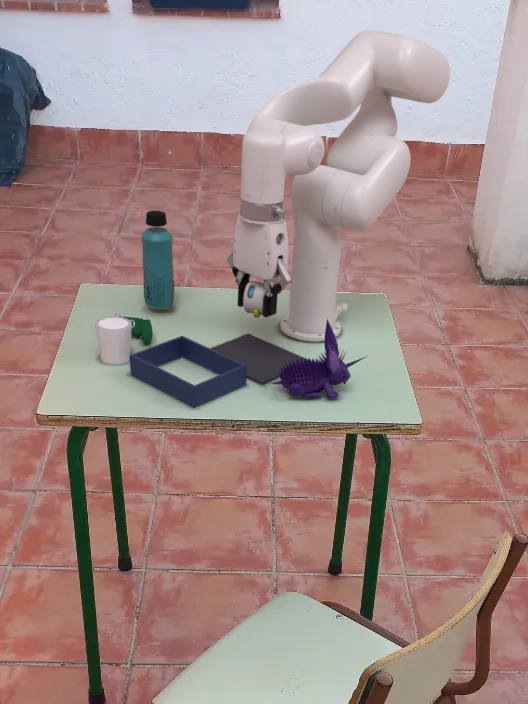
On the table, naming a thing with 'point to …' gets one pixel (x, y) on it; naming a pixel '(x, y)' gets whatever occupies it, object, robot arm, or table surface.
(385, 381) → the table surface
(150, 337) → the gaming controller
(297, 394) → the creature
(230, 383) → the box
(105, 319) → the white cup
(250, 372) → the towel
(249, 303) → the roller toy
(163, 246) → the beverage bottle
